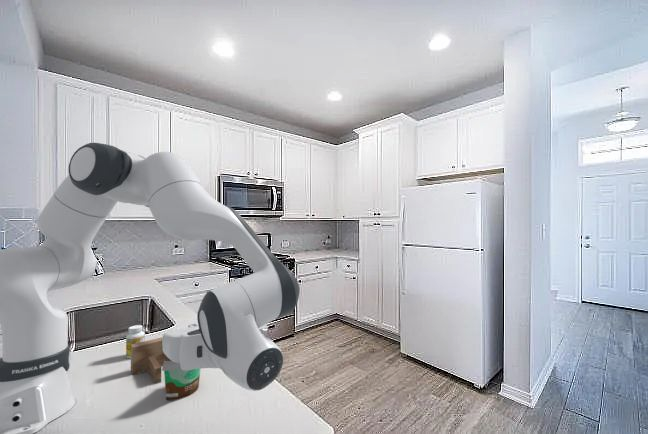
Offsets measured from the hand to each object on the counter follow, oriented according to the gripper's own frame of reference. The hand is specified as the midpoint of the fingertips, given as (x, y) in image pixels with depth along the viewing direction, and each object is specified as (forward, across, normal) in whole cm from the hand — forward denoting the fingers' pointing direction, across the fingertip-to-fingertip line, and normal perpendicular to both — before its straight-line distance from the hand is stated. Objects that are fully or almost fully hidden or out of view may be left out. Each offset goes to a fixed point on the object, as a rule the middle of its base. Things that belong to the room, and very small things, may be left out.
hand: (203, 324), depth 70 cm
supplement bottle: (+46, +7, +20) cm, 51 cm away
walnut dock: (+28, 0, +20) cm, 34 cm away
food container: (+11, 0, +20) cm, 23 cm away
